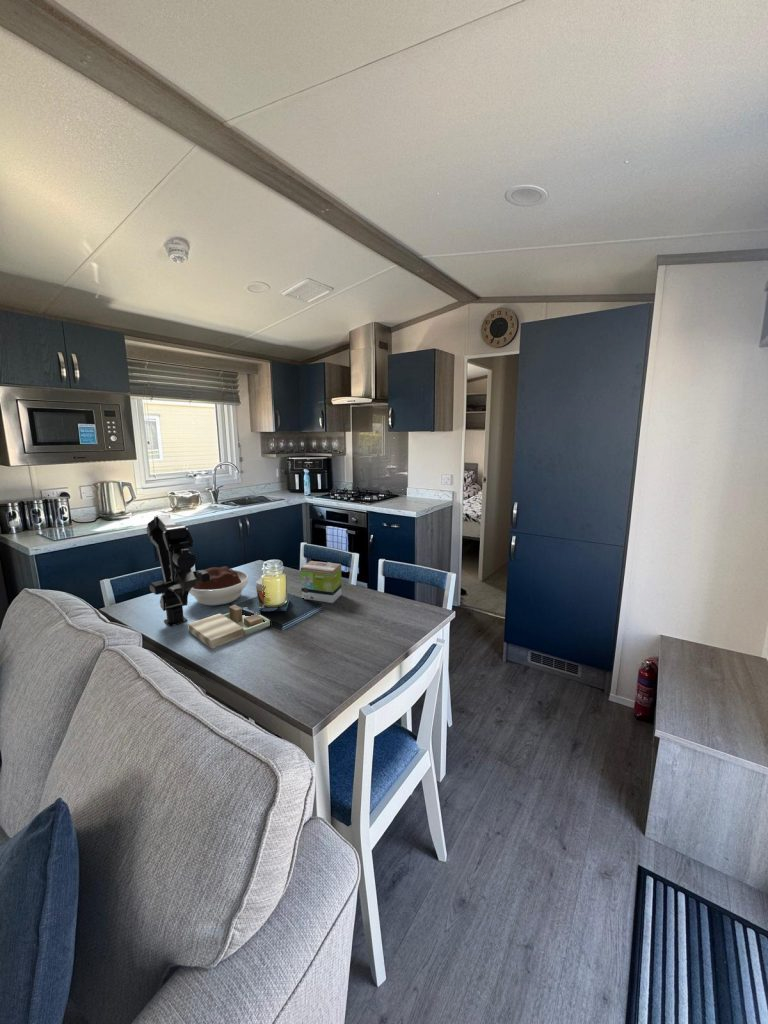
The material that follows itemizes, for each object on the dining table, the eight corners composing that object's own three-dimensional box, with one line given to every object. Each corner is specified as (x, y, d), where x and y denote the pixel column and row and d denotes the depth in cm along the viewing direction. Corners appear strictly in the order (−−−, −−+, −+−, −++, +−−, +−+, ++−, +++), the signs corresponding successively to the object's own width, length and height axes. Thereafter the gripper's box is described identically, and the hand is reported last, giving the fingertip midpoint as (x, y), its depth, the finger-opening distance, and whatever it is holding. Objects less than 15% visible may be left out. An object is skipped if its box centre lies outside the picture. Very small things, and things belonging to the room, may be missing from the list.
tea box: (301, 599, 184) (299, 567, 181) (311, 591, 193) (310, 560, 191) (333, 603, 180) (332, 570, 177) (342, 594, 189) (341, 563, 186)
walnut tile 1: (228, 606, 164) (234, 604, 166) (229, 618, 165) (235, 616, 167) (235, 610, 161) (241, 608, 163) (236, 622, 162) (242, 620, 164)
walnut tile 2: (255, 613, 164) (255, 619, 164) (243, 618, 160) (244, 624, 161) (262, 617, 160) (263, 624, 161) (250, 622, 157) (251, 628, 157)
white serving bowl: (220, 585, 200) (217, 555, 197) (262, 594, 190) (259, 562, 186) (174, 606, 178) (170, 571, 175) (218, 617, 167) (214, 581, 164)
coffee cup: (252, 610, 174) (250, 582, 171) (268, 602, 182) (266, 575, 179) (269, 614, 169) (268, 586, 167) (285, 606, 178) (284, 578, 175)
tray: (220, 620, 165) (220, 615, 164) (246, 611, 173) (246, 606, 172) (244, 635, 153) (244, 630, 152) (271, 625, 160) (270, 620, 160)
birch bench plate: (188, 631, 156) (188, 623, 156) (220, 620, 165) (219, 613, 164) (211, 648, 144) (210, 640, 143) (244, 635, 153) (243, 628, 152)
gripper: (159, 574, 135) (164, 620, 138) (216, 561, 148) (219, 603, 151) (146, 566, 143) (152, 610, 146) (201, 554, 156) (205, 594, 159)
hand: (183, 604), depth 150 cm, fingers closed
